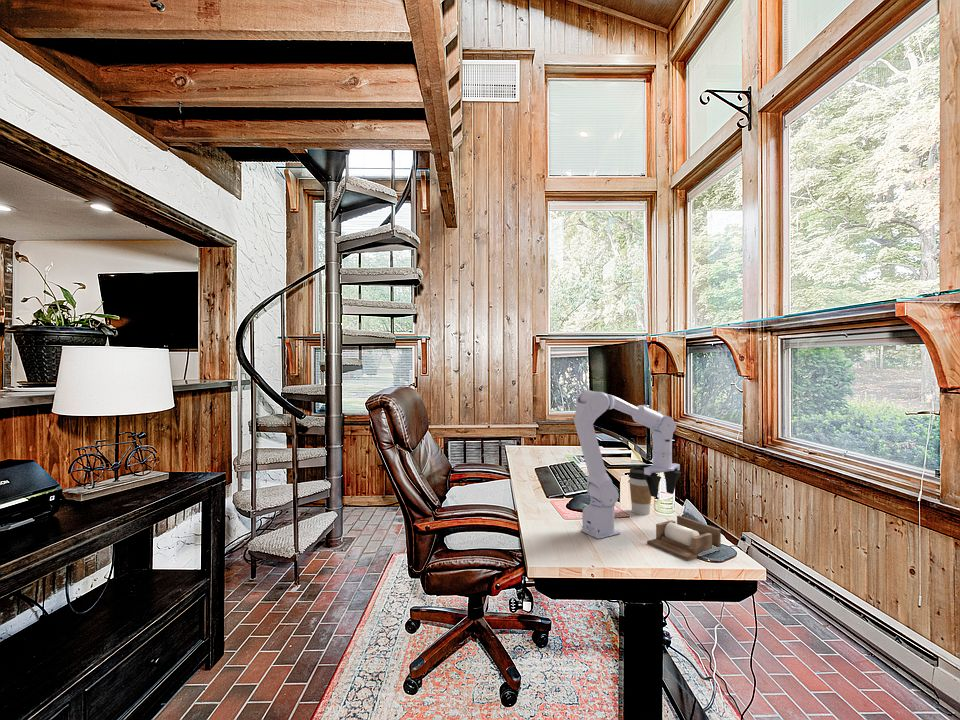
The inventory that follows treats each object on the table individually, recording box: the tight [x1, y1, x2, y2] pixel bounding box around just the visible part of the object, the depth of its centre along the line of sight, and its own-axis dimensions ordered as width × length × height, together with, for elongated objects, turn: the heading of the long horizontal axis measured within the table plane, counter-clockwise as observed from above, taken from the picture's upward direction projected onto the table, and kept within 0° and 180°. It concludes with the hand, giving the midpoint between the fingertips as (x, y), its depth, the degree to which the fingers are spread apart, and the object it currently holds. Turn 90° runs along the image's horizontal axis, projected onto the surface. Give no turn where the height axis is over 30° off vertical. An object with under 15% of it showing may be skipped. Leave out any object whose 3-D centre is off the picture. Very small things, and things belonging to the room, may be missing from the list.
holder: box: [646, 515, 722, 561], centre depth 136 cm, size 14×14×6 cm
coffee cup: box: [628, 466, 652, 515], centre depth 167 cm, size 8×8×15 cm
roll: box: [664, 522, 699, 547], centre depth 136 cm, size 5×8×5 cm, turn 30°
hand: (662, 494), depth 152 cm, fingers open, 7 cm apart
